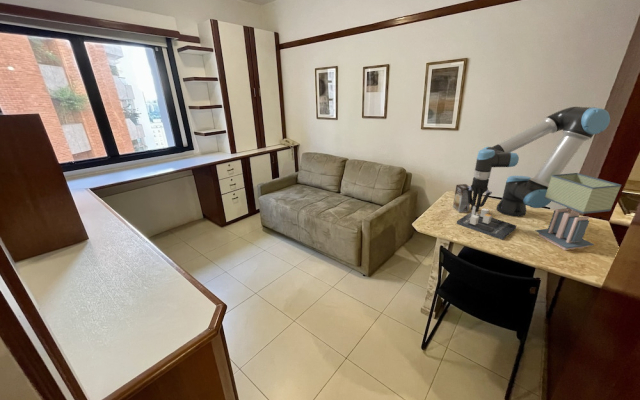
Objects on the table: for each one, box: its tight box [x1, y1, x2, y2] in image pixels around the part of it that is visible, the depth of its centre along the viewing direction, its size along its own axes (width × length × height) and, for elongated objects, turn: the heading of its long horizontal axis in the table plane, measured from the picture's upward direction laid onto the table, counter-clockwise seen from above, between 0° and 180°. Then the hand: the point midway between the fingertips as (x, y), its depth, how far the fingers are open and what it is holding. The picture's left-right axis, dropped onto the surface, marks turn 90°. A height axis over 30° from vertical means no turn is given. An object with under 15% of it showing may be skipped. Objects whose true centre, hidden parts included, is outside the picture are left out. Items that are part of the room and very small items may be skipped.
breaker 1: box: [470, 215, 479, 225], centre depth 144 cm, size 3×3×4 cm
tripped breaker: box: [482, 213, 493, 224], centre depth 144 cm, size 3×3×5 cm
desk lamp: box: [534, 172, 622, 251], centre depth 123 cm, size 18×14×33 cm
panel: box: [456, 211, 517, 241], centre depth 146 cm, size 18×24×2 cm
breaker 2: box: [479, 208, 490, 217], centre depth 151 cm, size 3×3×4 cm
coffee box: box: [452, 183, 473, 213], centre depth 164 cm, size 9×6×16 cm
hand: (473, 216), depth 150 cm, fingers closed
